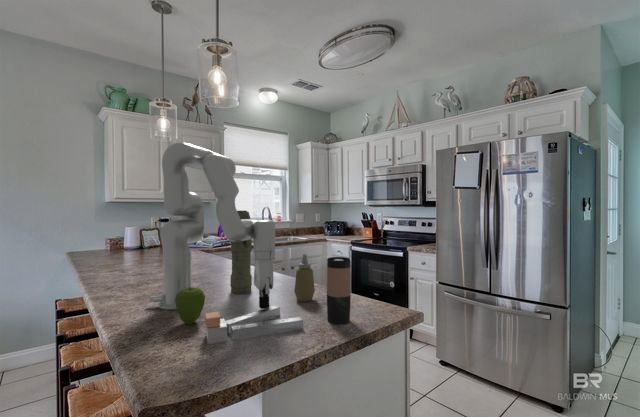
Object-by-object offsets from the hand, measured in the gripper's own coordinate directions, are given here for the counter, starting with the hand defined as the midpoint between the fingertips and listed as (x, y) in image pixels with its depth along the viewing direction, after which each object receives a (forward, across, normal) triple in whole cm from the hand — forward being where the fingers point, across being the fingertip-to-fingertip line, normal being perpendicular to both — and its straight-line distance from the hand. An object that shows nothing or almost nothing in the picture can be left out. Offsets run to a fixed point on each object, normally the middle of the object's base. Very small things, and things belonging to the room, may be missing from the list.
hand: (264, 307), depth 111 cm
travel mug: (+2, +18, +20) cm, 27 cm away
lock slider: (-3, +17, -19) cm, 25 cm away
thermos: (+2, -30, -3) cm, 30 cm away
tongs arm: (+1, +10, -6) cm, 11 cm away
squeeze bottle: (+2, -8, +18) cm, 20 cm away
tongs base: (+1, +17, -7) cm, 19 cm away
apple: (+2, +2, -24) cm, 24 cm away
